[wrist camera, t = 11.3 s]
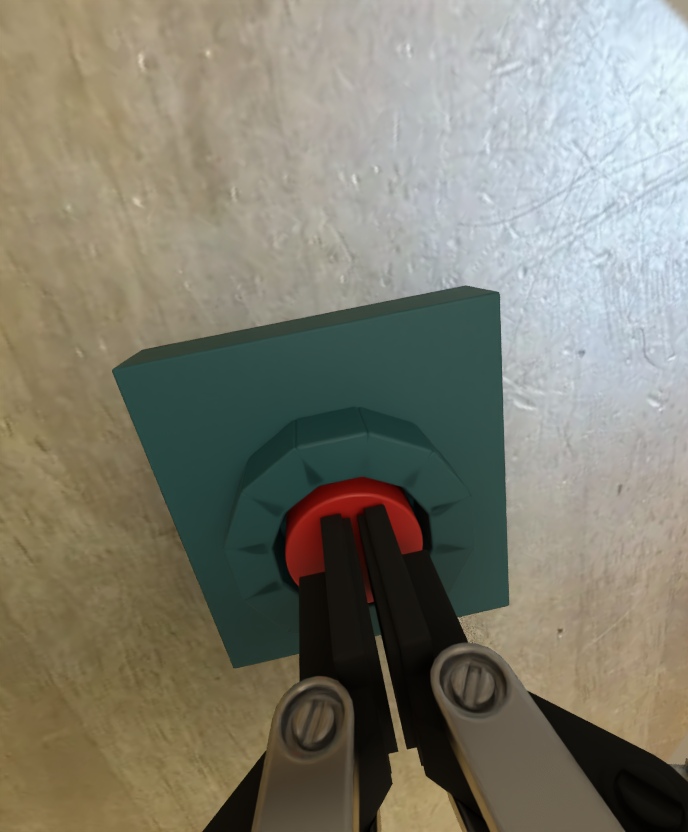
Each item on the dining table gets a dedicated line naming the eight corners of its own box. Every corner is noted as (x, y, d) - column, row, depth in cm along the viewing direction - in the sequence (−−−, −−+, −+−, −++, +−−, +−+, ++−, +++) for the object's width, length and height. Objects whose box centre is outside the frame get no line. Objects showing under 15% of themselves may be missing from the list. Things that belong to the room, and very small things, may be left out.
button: (273, 474, 12) (270, 511, 10) (398, 448, 12) (416, 479, 10) (300, 573, 13) (301, 619, 11) (412, 548, 13) (430, 590, 11)
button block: (140, 350, 12) (74, 392, 9) (467, 284, 13) (539, 299, 9) (240, 618, 16) (225, 724, 13) (484, 563, 17) (537, 651, 13)
